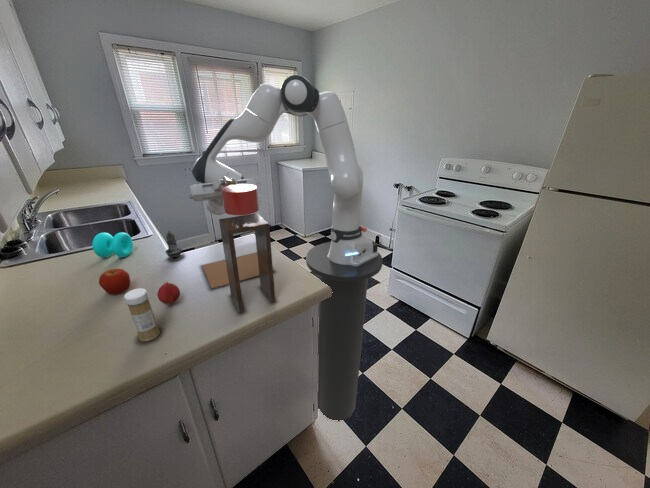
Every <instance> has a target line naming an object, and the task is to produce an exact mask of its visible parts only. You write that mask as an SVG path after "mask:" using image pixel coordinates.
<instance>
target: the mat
mask: <svg viewBox="0 0 650 488" xmlns="http://www.w3.org/2000/svg"><path fill="white" fill-rule="evenodd" d="M236 259H237V266H238V273H239V280H240V282H243V281H248V280H250V279H254V278H258V277H260V276H259V266H258V256H257V252H254V253H253V252H252V253H250V254H249V253H248V254H245V255H240V256H236ZM201 266H202V270H203V271H204V273H205V276H206V279H207V281H208V283H209V286H210V288H211V290H214V289H217V288H221V287H224V286H229V280H228V273H227V267H226V261H225V259H223V260H219V261H215V262H209V263H206V264H202V265H201ZM274 272H275V270H273V273H274Z"/></svg>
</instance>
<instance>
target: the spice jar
mask: <svg viewBox="0 0 650 488" xmlns="http://www.w3.org/2000/svg"><path fill="white" fill-rule="evenodd" d="M123 299H124V301H125V304H126V305H127V306H128V310H129V312H130V316H131V318H132V321H133V324H134V327H135V330H136V331H137V334H138V336H139V340H140V342H150V341H153V340H154V339H157V338H158V337H159V334H160V331H161V330H160V329H159V327H158V324H157V319H156V317H155V313H154V312H153V309H152V306H151V302H150V300H149V294H148V291H147V289H145V288H140V287H139V288H135V289H132V290H129V291H128V292H126V293H125V294H124V296H123Z"/></svg>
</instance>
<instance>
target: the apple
mask: <svg viewBox="0 0 650 488" xmlns="http://www.w3.org/2000/svg"><path fill="white" fill-rule="evenodd" d="M98 285H99V286H100V288H102V290H103V291H104V292H106V293H107V294H110V295H116V294H117V295H118V294H122V293H124V292H126V291H127V290H128V289H129V288H130V287H131V286H130V285H131V278H130V274H129V272H128V271H126V270H125V269H123V268H112V269H108V270H105V271H104V272H103V273H102V274H101V275H100V276H99V278H98Z"/></svg>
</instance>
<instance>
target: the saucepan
mask: <svg viewBox="0 0 650 488" xmlns="http://www.w3.org/2000/svg"><path fill="white" fill-rule="evenodd" d="M221 179H223V180H224V185H225V186H226V187H223V188H222V189H221V191H222V198H223V204H224V210H225V214H227V215H230V216H243V215H249V214H255V213H257V212H258V211H259V210H260V205H259V202H260V201H259V193H258V186H257V187H256V186H255V185H250V184H236V183H235V182H233V181H232V180H230V179H229V178H228V177H225V176H224V177H222V178H221Z"/></svg>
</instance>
